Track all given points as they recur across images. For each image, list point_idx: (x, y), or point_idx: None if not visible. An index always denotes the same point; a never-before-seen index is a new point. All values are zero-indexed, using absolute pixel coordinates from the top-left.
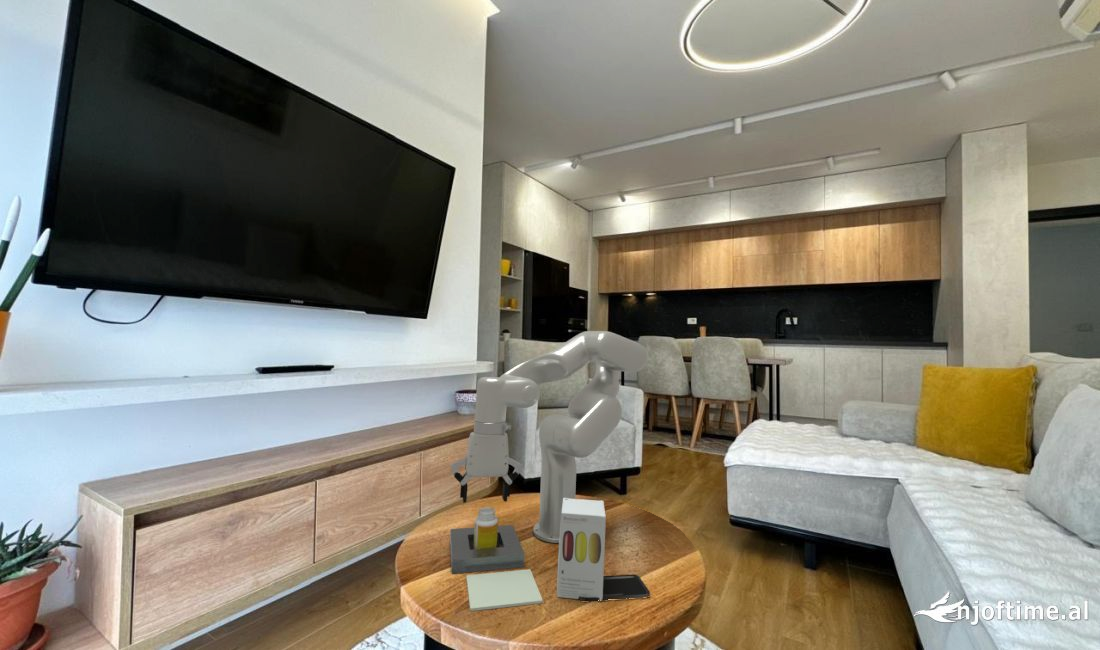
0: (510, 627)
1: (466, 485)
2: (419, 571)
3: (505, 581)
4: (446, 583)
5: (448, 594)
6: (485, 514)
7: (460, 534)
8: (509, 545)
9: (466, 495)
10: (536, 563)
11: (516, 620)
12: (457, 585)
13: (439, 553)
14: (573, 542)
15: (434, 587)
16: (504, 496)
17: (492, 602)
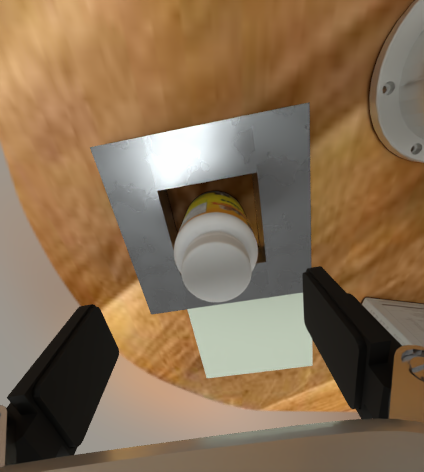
0: (259, 396)
1: (68, 454)
2: (93, 286)
3: (259, 325)
4: (156, 320)
5: (167, 344)
6: (213, 300)
7: (134, 188)
8: (280, 253)
9: (104, 385)
10: (330, 259)
11: (268, 387)
12: (176, 324)
13: (104, 217)
14: None
15: (140, 329)
16: (316, 344)
17: (237, 368)
